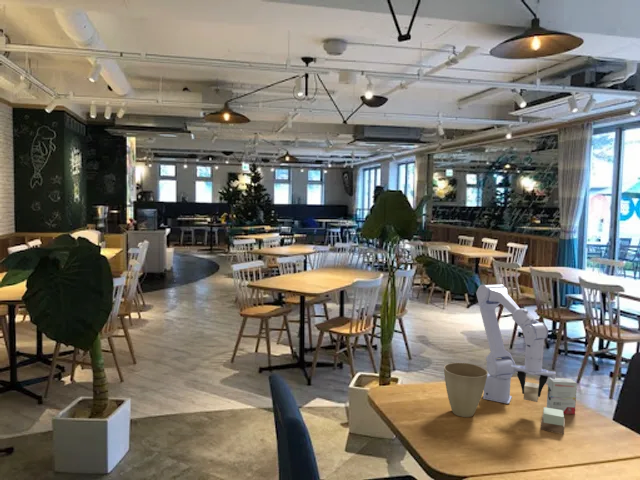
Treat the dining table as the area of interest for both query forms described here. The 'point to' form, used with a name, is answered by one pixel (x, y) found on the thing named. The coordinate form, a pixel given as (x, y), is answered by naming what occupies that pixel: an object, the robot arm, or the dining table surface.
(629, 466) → the dining table surface
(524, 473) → the dining table surface
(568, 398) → the ink box
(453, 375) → the plant pot
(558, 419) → the sage top block
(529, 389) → the maple block
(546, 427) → the walnut base block
